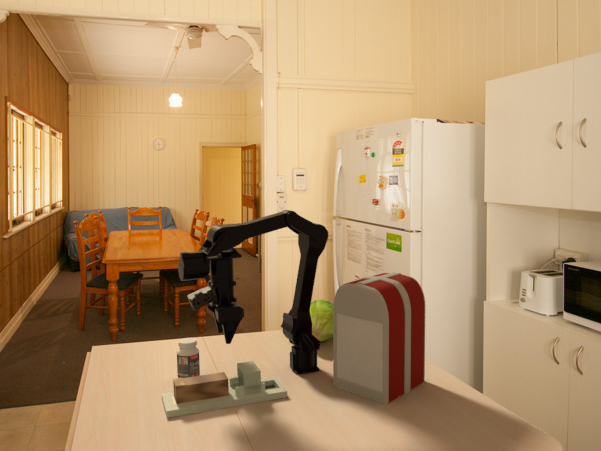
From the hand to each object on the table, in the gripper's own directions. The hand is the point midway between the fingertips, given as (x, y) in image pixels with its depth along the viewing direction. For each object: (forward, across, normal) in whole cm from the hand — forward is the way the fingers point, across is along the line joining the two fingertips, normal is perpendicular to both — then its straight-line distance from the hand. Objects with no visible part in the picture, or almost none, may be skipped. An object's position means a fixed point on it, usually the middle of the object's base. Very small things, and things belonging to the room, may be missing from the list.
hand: (224, 338), depth 133 cm
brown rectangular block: (+10, +8, -8) cm, 15 cm away
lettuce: (+12, -22, +34) cm, 43 cm away
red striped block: (+12, +14, +36) cm, 41 cm away
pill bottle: (+12, -8, -8) cm, 17 cm away
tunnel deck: (+12, +8, -2) cm, 15 cm away
